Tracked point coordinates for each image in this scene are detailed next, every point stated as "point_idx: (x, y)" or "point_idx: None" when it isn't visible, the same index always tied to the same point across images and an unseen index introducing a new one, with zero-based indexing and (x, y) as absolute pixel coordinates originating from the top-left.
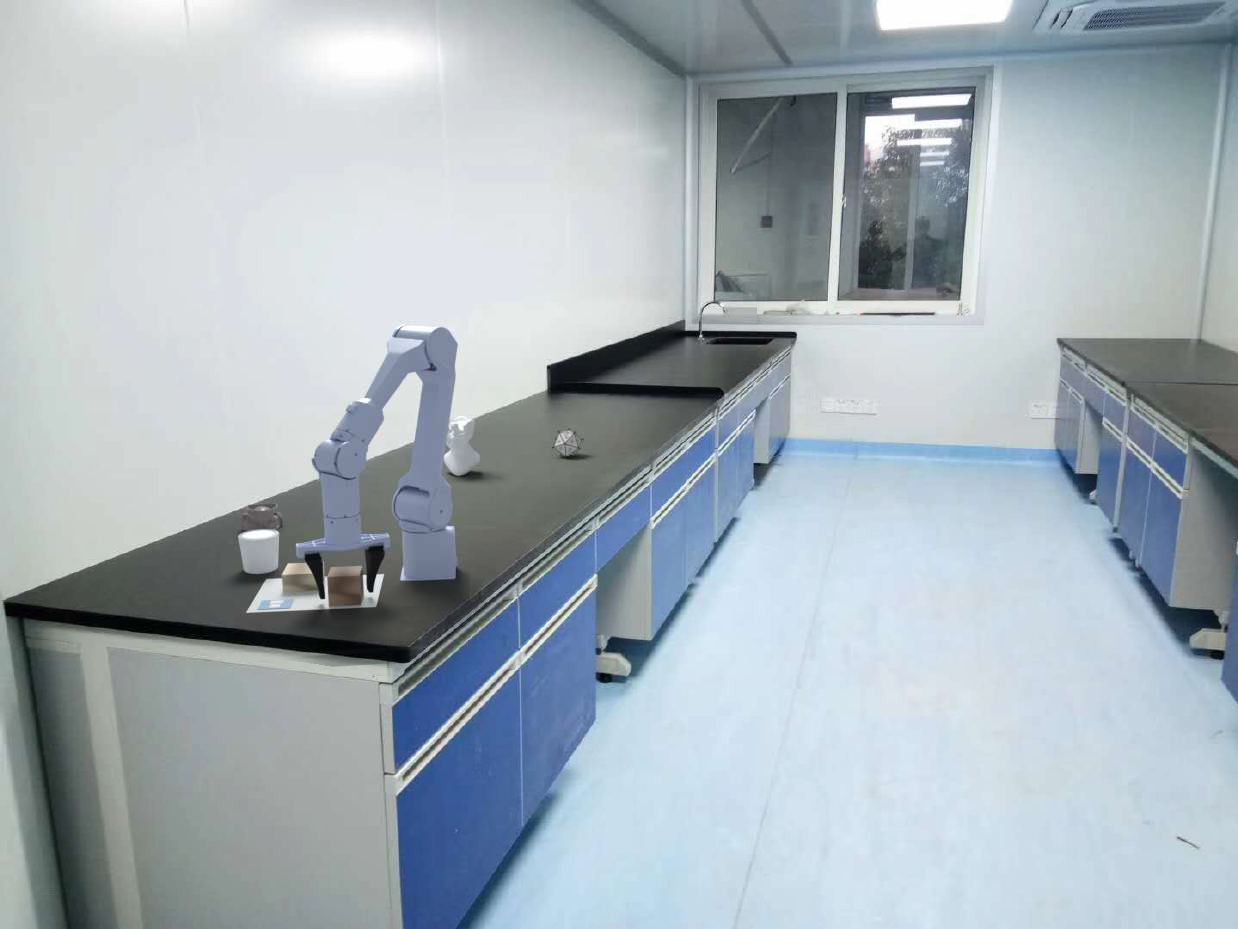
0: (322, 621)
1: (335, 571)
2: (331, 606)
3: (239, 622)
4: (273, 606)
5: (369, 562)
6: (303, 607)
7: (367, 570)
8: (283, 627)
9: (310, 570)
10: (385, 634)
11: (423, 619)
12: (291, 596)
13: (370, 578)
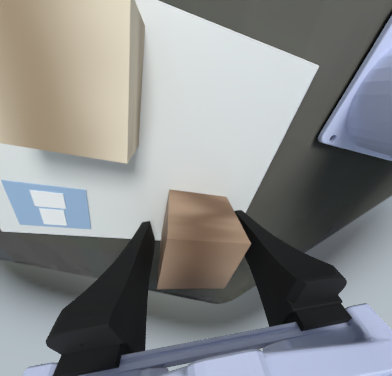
0: (153, 259)
1: (177, 266)
2: None
3: (12, 247)
4: (52, 220)
5: (263, 294)
6: (116, 229)
7: (254, 245)
8: (100, 268)
9: (87, 121)
10: (218, 289)
11: None
12: (72, 169)
13: (246, 256)
